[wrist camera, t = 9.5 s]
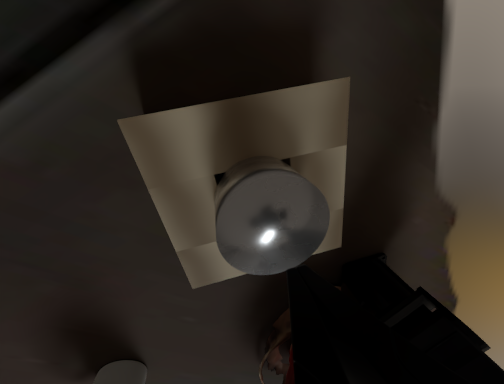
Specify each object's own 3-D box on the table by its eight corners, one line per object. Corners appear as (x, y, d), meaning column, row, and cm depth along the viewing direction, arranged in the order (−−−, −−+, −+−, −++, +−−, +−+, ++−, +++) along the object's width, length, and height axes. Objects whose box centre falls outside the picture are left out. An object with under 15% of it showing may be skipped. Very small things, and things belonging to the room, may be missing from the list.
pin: (276, 135, 18) (330, 163, 10) (282, 198, 21) (329, 258, 13) (204, 150, 17) (200, 193, 9) (221, 213, 20) (230, 287, 12)
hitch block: (312, 83, 17) (350, 76, 12) (315, 218, 23) (341, 246, 18) (143, 114, 15) (116, 119, 11) (196, 249, 21) (192, 288, 17)
